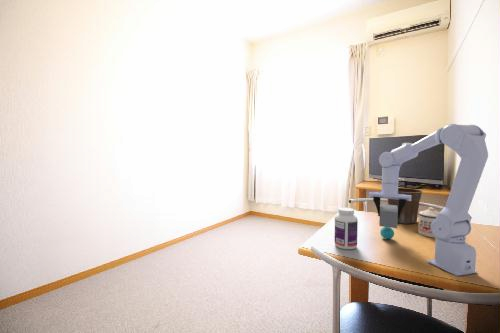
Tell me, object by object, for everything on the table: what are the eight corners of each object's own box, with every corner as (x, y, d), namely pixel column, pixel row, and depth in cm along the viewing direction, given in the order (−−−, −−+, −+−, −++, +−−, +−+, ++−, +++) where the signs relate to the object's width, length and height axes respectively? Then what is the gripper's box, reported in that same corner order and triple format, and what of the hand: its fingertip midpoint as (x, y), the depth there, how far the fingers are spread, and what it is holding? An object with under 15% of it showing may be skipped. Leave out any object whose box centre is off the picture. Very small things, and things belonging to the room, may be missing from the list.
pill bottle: (355, 243, 98) (356, 207, 97) (358, 251, 90) (359, 212, 89) (333, 241, 100) (334, 206, 99) (334, 249, 92) (335, 210, 91)
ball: (396, 230, 103) (397, 238, 99) (386, 235, 106) (386, 243, 102) (387, 222, 103) (388, 230, 99) (377, 227, 106) (377, 235, 102)
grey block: (397, 228, 93) (397, 212, 92) (379, 225, 96) (379, 210, 95) (396, 220, 102) (397, 205, 102) (380, 218, 105) (380, 204, 105)
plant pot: (381, 215, 139) (382, 186, 137) (415, 217, 134) (416, 187, 132) (387, 223, 123) (389, 191, 122) (426, 227, 118) (427, 193, 117)
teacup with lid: (414, 233, 109) (415, 207, 108) (422, 229, 114) (423, 204, 114) (448, 241, 99) (449, 212, 98) (455, 236, 105) (456, 209, 104)
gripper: (411, 182, 98) (409, 216, 99) (370, 180, 105) (369, 212, 106) (412, 185, 92) (410, 221, 93) (368, 182, 99) (367, 216, 100)
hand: (388, 216), depth 99 cm, fingers closed on grey block, 6 cm apart
